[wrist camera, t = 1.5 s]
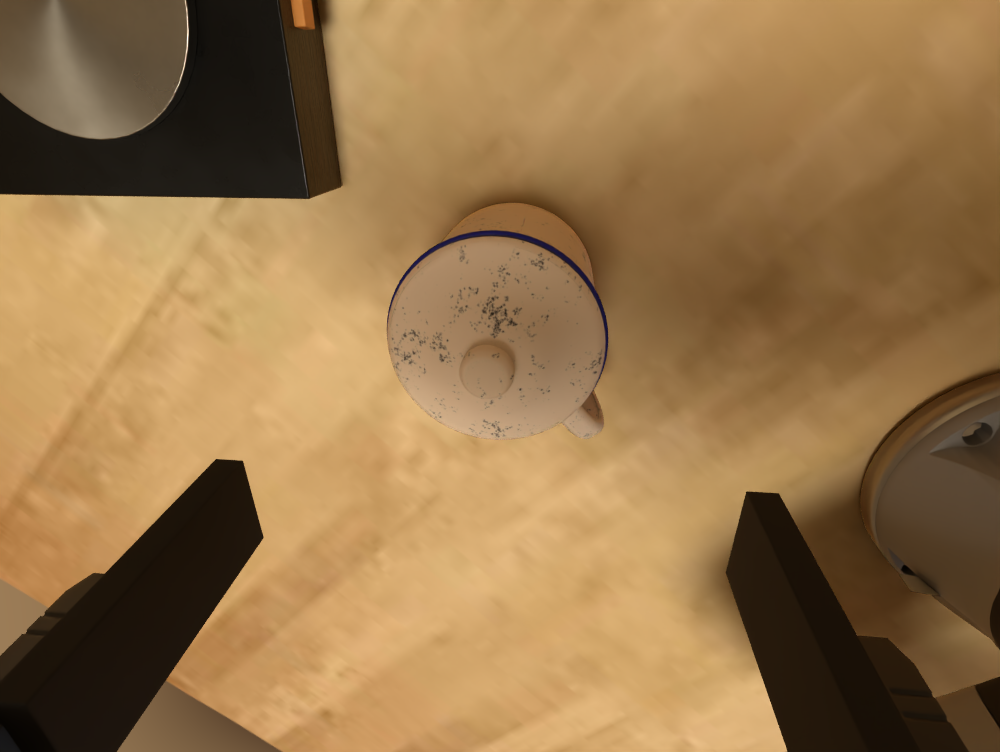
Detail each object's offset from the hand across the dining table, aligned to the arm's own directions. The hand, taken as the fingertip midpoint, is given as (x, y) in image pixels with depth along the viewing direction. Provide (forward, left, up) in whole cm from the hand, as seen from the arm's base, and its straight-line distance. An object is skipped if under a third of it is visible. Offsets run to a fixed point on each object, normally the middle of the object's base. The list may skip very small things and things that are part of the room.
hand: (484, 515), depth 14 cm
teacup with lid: (0, 0, -18) cm, 18 cm away
